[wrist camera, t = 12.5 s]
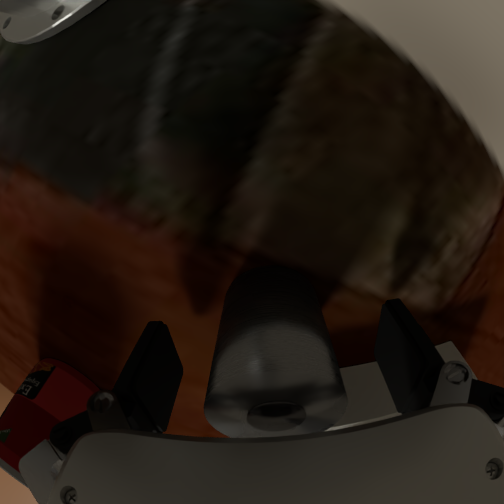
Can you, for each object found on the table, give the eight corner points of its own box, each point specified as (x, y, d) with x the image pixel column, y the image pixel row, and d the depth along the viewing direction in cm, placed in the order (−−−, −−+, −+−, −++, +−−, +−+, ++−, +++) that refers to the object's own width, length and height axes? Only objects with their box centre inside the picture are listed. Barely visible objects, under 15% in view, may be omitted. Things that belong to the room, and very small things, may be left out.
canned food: (45, 339, 15) (-26, 444, 5) (128, 402, 17) (86, 520, 7) (35, 374, 17) (-13, 454, 7) (101, 423, 19) (68, 510, 9)
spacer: (216, 270, 12) (185, 377, 6) (316, 260, 12) (358, 363, 6) (232, 344, 14) (220, 447, 8) (316, 336, 13) (339, 438, 8)
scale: (243, 378, 15) (239, 441, 11) (454, 339, 14) (484, 382, 10) (264, 461, 20) (264, 499, 16) (403, 436, 19) (414, 469, 15)
